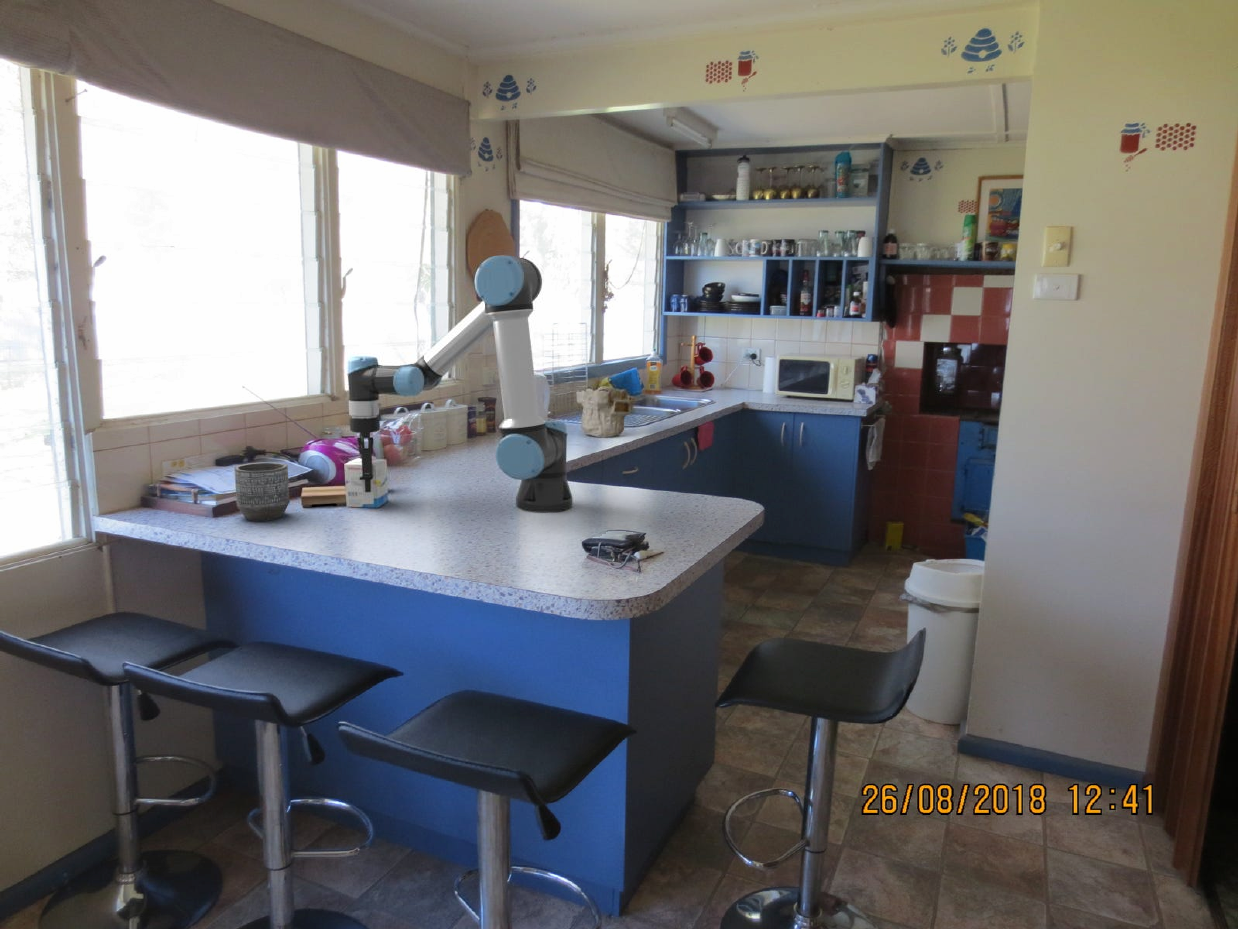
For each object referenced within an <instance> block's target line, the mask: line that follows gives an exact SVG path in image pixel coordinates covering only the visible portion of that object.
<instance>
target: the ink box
mask: <svg viewBox="0 0 1238 929" xmlns="http://www.w3.org/2000/svg"><path fill="white" fill-rule="evenodd" d="M387 463H388V462H387V459H383V458H382V459H379V458H372V473H373V478H372V479H373V497H374V504H363V495H362V480H360V477H362V459H361V457H359V458H355V459H353V460H350V461H348V462H346V463H343V464H344V465H343V466H344V482H345V491H346V507H347V508H370V509H371V508H372V509H374V508H375V509H376V508H377V509H379V507H381V506H383V505H384V504H386V503H387V502H389V496H388V495H389V494H388V492H389V485H387V479H388V469H387V468H388V464H387ZM365 474H370V473H365Z"/></svg>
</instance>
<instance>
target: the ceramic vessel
mask: <svg viewBox="0 0 1238 929" xmlns="http://www.w3.org/2000/svg"><path fill="white" fill-rule="evenodd" d="M635 401H636V398H635V396H631V394H630V393H629V392H628V391H627V390H626V389H619V388H614V387H613V386H612V387H611V386H609V385H608V386H607V385H605V386H600V387H598V388H597V389H596V390H593V389H592V388H588V389H587V388H586V389H585V390H583V389H582V390H578V391H576V402H577V403H578V404H580V405H581V406H582V415H581V419H580V424H581V429H582V431H583V432H584V433H585V434H586V435H587V436H592V437H596V438H603V439H604V438H605V439H607V438H614V437H617V436H619V435H621V434H622V433H623V432H624V430H625V422H624V421H625V417H626V416H628V415H630V414H631V412H632V411H633V407H634V405H635Z"/></svg>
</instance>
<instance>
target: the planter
mask: <svg viewBox="0 0 1238 929" xmlns="http://www.w3.org/2000/svg"><path fill="white" fill-rule="evenodd" d="M288 467H289V466H288V464H287V463H284V462H276V461H275V462H273V461H266V462H265V461H261V462H249V463H244V464H240V465H236V466H234V482H235V484H234V485H235V500H236V501H235V502H236V507H237V509H238V510H239V511H240V512H241V514H242V515H243V516H244V517H245V519H246V520H247V521H251V520H252V521H254V522H264V521H273V520H277V519H280V518H282V517H283V515H284V514H285V512H286V510H287V508H288V506H289V504H290V489H289V486H290V484H289V481H290V480H289V470H288V469H289V468H288ZM252 521H251V522H252Z"/></svg>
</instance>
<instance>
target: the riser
mask: <svg viewBox="0 0 1238 929" xmlns="http://www.w3.org/2000/svg"><path fill="white" fill-rule="evenodd" d="M300 500H301V502H300V503H301V505H302V508H312V505H327V504H336V506H337V507H340V506H342V505H343V506H346V504H347V501H346V485H333V486H315V487H314V486H313V487H312V486H311V487H302V490H301V495H300Z"/></svg>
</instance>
